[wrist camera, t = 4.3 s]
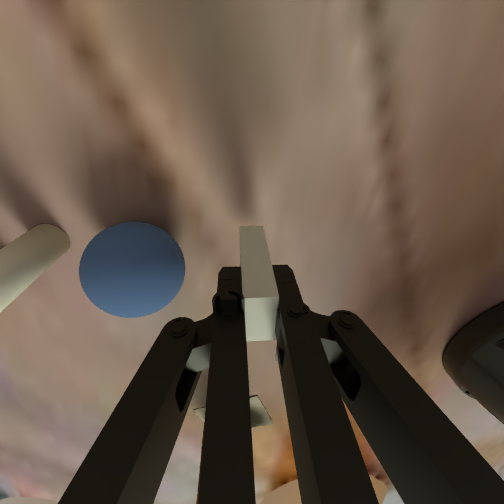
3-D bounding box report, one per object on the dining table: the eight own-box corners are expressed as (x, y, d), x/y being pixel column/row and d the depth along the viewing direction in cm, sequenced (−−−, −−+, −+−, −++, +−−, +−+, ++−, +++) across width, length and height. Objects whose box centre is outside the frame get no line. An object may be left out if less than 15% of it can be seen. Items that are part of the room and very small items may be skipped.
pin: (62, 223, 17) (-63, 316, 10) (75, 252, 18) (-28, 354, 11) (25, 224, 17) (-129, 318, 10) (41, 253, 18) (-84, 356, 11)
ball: (26, 264, 12) (96, 210, 17) (90, 340, 15) (132, 277, 20) (142, 254, 11) (180, 200, 16) (182, 336, 15) (203, 271, 20)
